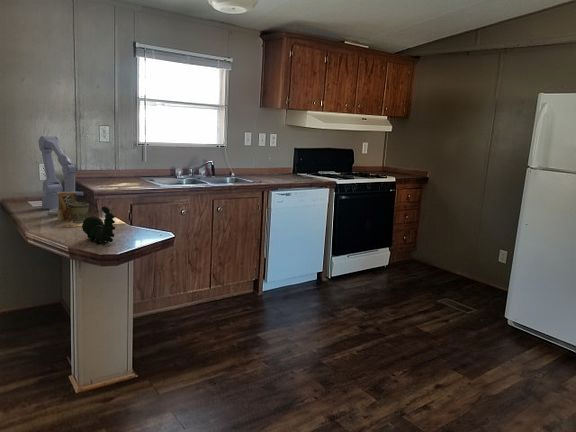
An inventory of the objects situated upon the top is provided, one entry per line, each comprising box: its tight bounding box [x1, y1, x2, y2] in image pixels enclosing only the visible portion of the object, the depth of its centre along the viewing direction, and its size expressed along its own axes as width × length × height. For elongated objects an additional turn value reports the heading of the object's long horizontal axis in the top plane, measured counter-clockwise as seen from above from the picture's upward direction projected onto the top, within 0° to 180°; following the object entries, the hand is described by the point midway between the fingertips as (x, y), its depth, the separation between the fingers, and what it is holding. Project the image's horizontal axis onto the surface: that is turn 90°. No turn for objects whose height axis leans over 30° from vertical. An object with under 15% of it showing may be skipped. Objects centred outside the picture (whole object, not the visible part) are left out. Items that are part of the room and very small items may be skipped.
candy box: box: [57, 191, 77, 222], centre depth 258 cm, size 9×4×15 cm, turn 129°
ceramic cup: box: [69, 201, 90, 224], centre depth 256 cm, size 13×10×10 cm
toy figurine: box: [81, 206, 116, 244], centre depth 217 cm, size 9×19×25 cm
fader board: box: [49, 209, 58, 216], centre depth 278 cm, size 20×8×2 cm, turn 117°
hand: (70, 207), depth 278 cm, fingers closed, pressing on fader knob
